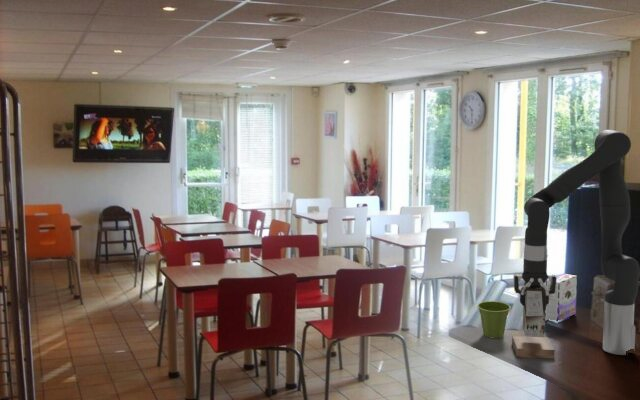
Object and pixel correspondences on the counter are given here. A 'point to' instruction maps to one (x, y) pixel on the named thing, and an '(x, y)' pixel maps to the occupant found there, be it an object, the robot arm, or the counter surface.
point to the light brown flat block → (533, 347)
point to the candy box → (562, 298)
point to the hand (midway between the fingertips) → (534, 305)
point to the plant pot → (493, 317)
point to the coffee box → (534, 312)
